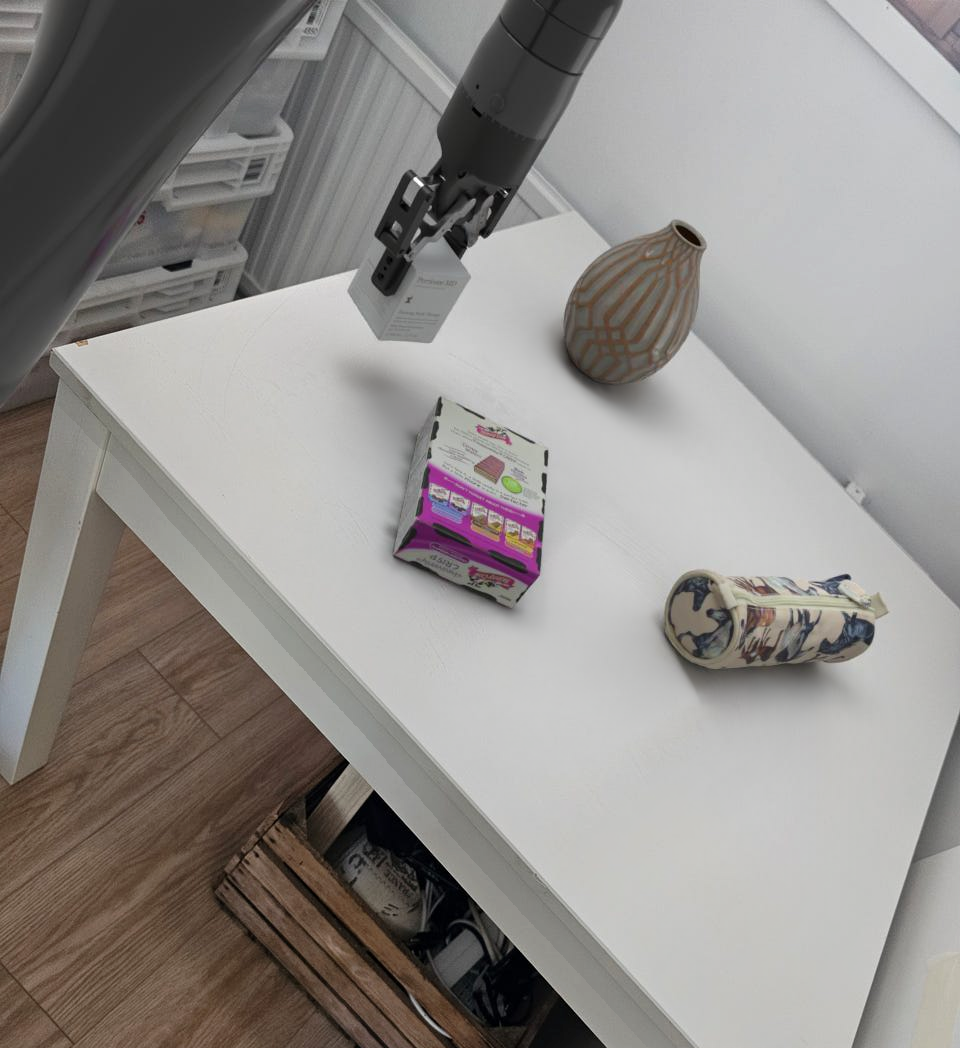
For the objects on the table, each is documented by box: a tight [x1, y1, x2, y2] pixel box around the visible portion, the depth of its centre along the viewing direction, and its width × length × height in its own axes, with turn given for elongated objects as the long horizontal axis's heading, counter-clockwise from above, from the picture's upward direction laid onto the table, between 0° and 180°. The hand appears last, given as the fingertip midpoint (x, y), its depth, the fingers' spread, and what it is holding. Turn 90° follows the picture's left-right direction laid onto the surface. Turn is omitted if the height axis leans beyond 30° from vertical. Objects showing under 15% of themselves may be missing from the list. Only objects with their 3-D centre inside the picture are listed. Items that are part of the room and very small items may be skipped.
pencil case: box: [663, 568, 891, 670], centre depth 95 cm, size 22×8×10 cm, turn 112°
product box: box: [347, 222, 472, 344], centre depth 86 cm, size 6×6×7 cm
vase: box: [562, 218, 708, 385], centre depth 110 cm, size 13×13×18 cm
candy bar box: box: [392, 395, 550, 609], centre depth 87 cm, size 11×5×16 cm
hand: (409, 281), depth 86 cm, fingers closed on product box, 7 cm apart
